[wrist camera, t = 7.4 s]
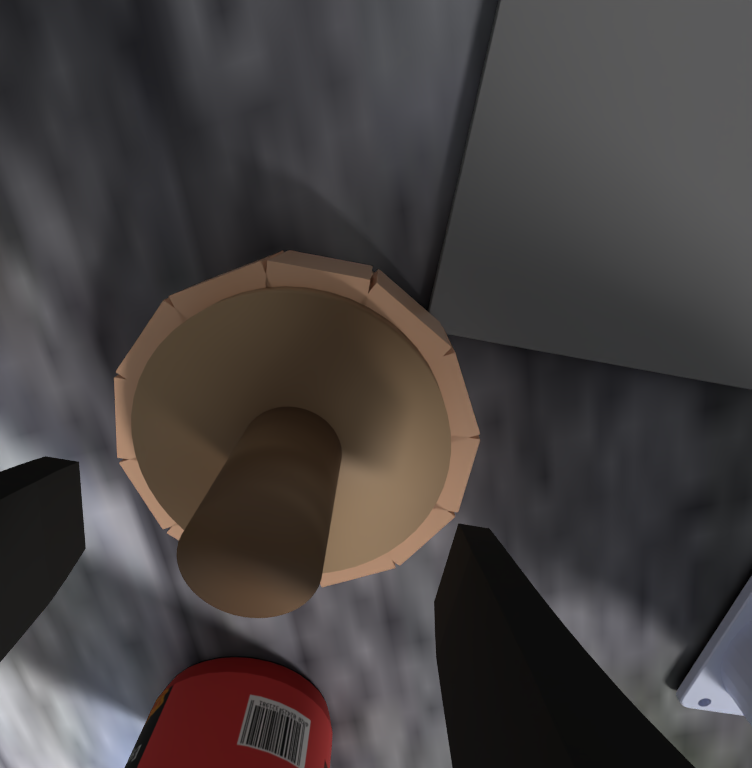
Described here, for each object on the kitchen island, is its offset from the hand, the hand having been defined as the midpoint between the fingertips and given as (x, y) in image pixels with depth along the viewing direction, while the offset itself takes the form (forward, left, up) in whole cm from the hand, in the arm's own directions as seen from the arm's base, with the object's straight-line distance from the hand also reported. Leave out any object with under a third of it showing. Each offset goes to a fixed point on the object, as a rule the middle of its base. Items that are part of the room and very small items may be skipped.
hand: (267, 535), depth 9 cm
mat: (-9, -9, -6) cm, 14 cm away
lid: (0, 0, -3) cm, 3 cm away
